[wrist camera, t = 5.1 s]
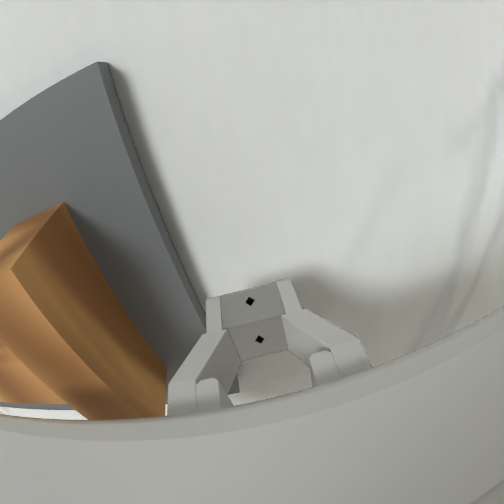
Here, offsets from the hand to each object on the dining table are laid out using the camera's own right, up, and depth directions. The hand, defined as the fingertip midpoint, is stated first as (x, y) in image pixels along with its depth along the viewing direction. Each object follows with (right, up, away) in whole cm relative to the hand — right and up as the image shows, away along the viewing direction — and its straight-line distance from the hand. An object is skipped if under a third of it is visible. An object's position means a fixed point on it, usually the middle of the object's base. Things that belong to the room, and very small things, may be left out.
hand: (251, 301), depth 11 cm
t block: (-10, -2, +1) cm, 10 cm away
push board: (-14, -2, +2) cm, 15 cm away
